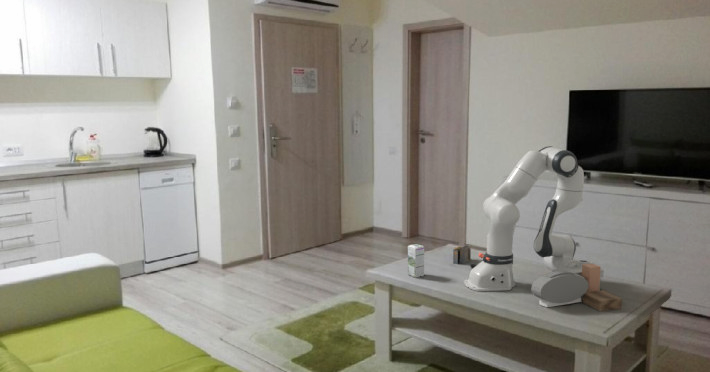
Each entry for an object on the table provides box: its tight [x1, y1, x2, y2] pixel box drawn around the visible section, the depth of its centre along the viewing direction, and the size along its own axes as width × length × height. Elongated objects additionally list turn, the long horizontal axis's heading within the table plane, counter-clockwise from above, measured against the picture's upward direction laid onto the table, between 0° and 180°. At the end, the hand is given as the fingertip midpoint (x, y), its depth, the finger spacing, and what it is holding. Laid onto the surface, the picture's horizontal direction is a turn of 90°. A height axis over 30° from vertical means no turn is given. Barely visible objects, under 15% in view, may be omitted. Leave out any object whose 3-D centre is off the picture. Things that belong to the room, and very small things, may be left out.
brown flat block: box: [452, 245, 472, 265], centre depth 278 cm, size 11×3×10 cm, turn 133°
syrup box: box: [407, 243, 425, 279], centre depth 255 cm, size 6×6×14 cm
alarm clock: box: [530, 271, 589, 308], centre depth 218 cm, size 23×6×13 cm, turn 109°
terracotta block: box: [582, 262, 602, 292], centre depth 226 cm, size 5×5×13 cm
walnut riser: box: [582, 289, 623, 312], centre depth 216 cm, size 10×10×4 cm
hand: (592, 278), depth 225 cm, fingers open, 5 cm apart
